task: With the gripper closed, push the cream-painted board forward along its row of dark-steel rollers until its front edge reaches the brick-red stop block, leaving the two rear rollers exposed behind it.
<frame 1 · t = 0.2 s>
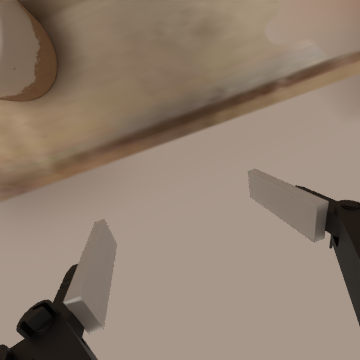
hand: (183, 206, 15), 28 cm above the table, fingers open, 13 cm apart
vase: (7, 53, 30), on the table
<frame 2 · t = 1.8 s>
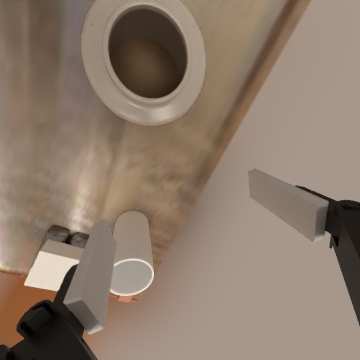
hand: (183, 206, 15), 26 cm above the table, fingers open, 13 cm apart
rollers: (76, 249, 43), on the table
board: (67, 268, 38), point 6 cm above the table, slide at 0.0 cm
vase: (144, 82, 34), on the table
cup: (132, 224, 44), on the table
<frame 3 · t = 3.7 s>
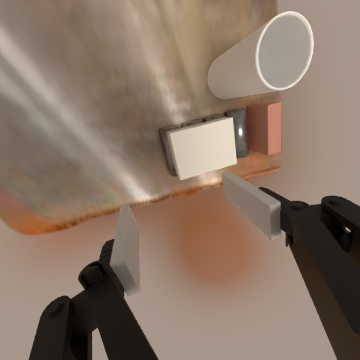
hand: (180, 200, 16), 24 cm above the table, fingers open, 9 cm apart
rollers: (193, 143, 39), on the table
stop block: (253, 127, 41), on the table
board: (202, 148, 34), point 6 cm above the table, slide at 0.0 cm
cup: (225, 78, 36), on the table
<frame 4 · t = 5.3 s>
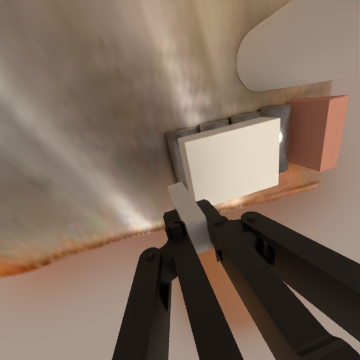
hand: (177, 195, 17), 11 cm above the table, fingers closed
rollers: (212, 153, 28), on the table
stop block: (292, 131, 30), on the table
board: (230, 162, 23), point 6 cm above the table, slide at 0.0 cm
cup: (261, 60, 25), on the table
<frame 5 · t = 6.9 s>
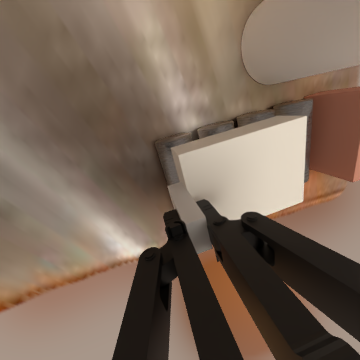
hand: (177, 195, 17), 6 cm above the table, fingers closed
rollers: (214, 162, 23), on the table
stop block: (311, 131, 25), on the table
board: (240, 176, 18), point 6 cm above the table, slide at 0.2 cm, touching gripper
cup: (272, 45, 20), on the table
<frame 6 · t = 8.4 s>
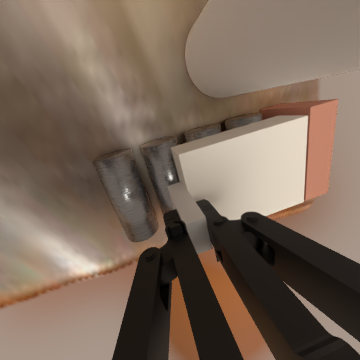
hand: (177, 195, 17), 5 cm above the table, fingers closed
rollers: (167, 177, 22), on the table
stop block: (271, 144, 24), on the table
board: (240, 175, 18), point 6 cm above the table, slide at 6.8 cm, touching gripper
cup: (220, 57, 19), on the table
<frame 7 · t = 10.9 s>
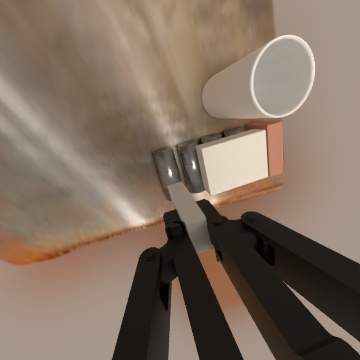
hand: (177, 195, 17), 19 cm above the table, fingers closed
rollers: (190, 164, 37), on the table
stop block: (253, 145, 39), on the table
board: (232, 161, 33), point 6 cm above the table, slide at 6.9 cm
cup: (221, 96, 34), on the table
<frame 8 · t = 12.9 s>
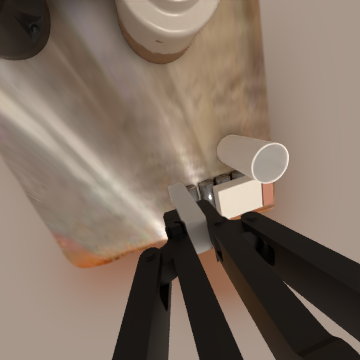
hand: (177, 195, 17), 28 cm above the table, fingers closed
rollers: (206, 195, 52), on the table
stop block: (252, 180, 53), on the table
board: (237, 196, 47), point 6 cm above the table, slide at 6.9 cm
vase: (157, 20, 35), on the table, touching arm
cup: (229, 149, 48), on the table
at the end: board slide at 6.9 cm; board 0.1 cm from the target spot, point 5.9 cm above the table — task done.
